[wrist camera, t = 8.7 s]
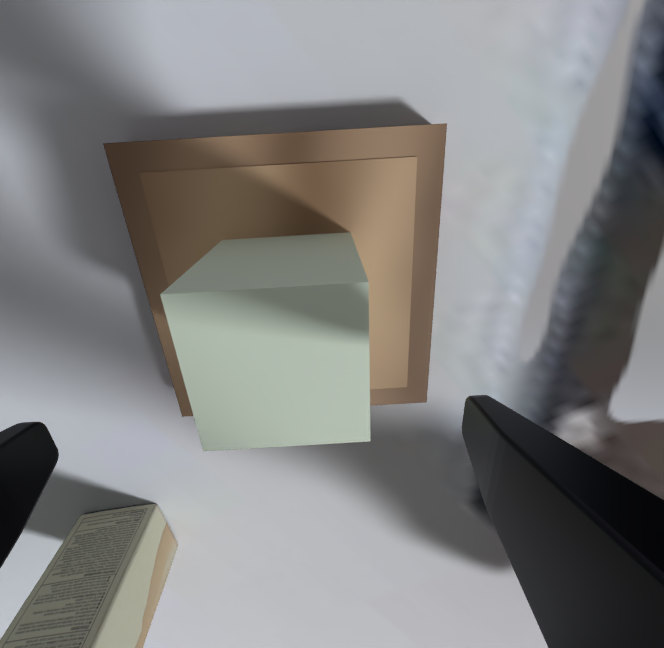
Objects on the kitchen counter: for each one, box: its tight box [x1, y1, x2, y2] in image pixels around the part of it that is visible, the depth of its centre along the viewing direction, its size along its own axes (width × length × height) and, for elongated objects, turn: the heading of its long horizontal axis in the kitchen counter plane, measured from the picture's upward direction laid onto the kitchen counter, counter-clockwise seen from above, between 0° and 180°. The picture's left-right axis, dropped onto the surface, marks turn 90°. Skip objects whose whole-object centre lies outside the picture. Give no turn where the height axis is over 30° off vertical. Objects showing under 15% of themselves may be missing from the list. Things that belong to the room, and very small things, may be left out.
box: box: [0, 504, 178, 648], centre depth 18 cm, size 5×4×11 cm
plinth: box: [103, 124, 447, 417], centre depth 16 cm, size 12×12×2 cm
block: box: [160, 232, 370, 451], centre depth 12 cm, size 5×5×6 cm
